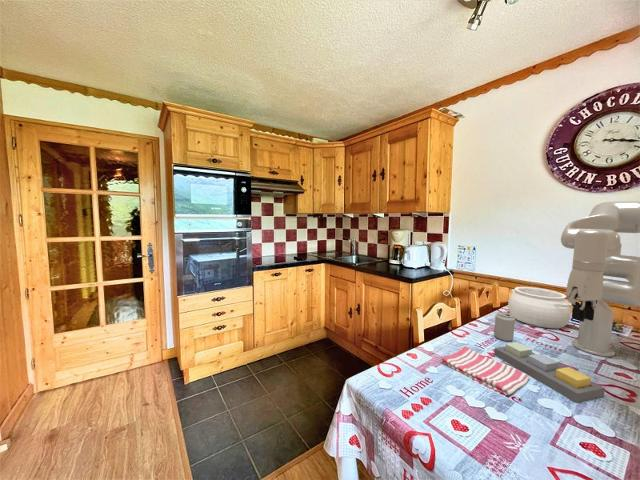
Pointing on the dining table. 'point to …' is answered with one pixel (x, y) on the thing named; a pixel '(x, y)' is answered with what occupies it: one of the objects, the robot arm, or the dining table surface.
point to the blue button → (543, 362)
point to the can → (504, 326)
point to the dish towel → (486, 370)
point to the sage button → (518, 349)
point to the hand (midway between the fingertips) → (582, 319)
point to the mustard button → (573, 377)
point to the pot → (539, 307)
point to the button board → (551, 378)
